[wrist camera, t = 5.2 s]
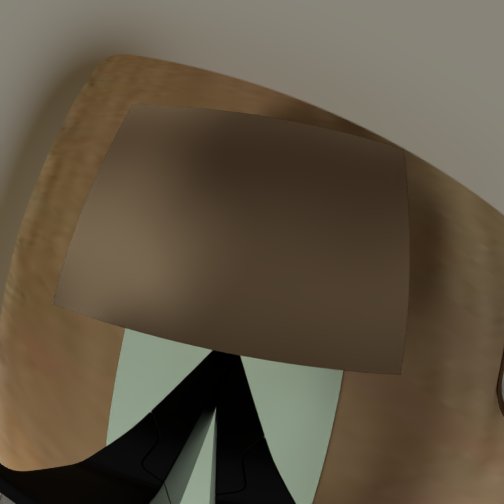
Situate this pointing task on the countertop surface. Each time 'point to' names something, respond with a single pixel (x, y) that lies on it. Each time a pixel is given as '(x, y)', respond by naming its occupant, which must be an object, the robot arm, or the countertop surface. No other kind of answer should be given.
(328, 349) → the walnut push block
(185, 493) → the sage board
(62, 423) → the countertop surface
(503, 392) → the tin
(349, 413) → the countertop surface
